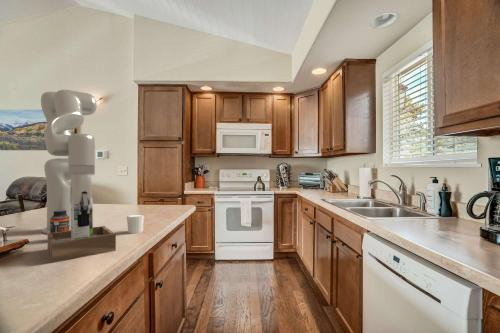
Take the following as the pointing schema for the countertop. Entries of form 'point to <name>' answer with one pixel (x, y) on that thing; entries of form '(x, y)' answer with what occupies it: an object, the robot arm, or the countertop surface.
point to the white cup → (135, 223)
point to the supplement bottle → (59, 221)
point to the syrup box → (75, 230)
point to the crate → (80, 244)
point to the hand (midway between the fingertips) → (81, 224)
